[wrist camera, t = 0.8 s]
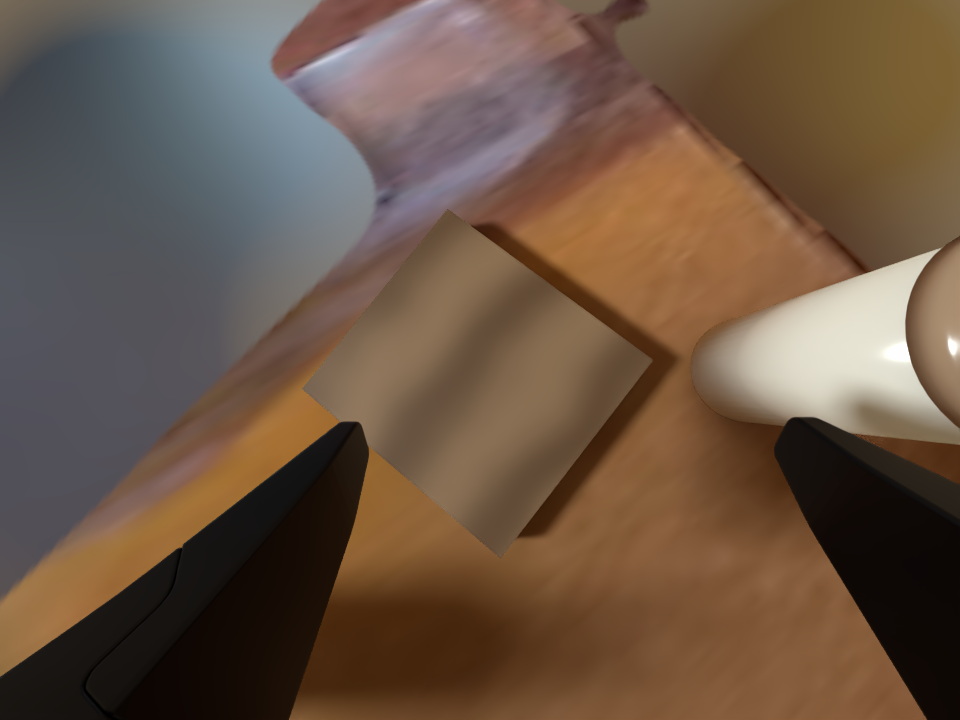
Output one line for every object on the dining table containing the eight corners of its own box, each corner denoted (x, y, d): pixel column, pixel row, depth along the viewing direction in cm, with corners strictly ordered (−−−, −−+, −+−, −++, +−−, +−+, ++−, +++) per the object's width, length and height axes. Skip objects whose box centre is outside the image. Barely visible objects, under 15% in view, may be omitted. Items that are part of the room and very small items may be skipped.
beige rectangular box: (636, 364, 22) (653, 360, 20) (500, 539, 22) (500, 558, 19) (453, 228, 24) (447, 209, 21) (323, 389, 23) (302, 388, 21)
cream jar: (825, 360, 21) (1312, 305, 8) (759, 448, 21) (1155, 530, 8) (729, 294, 22) (1044, 151, 9) (664, 379, 22) (894, 353, 9)
